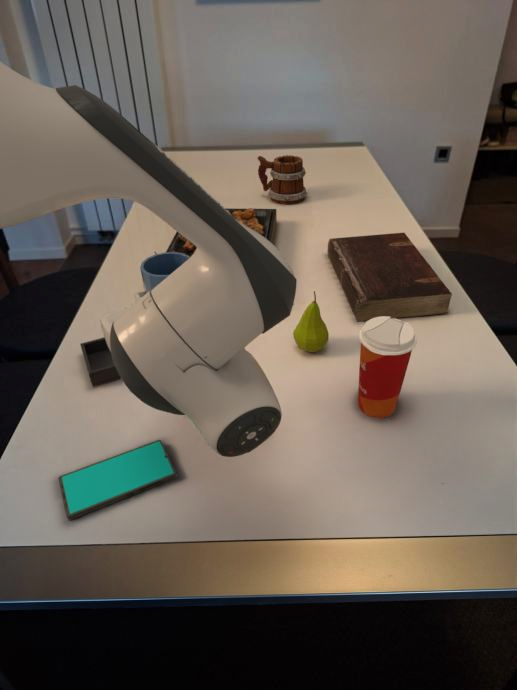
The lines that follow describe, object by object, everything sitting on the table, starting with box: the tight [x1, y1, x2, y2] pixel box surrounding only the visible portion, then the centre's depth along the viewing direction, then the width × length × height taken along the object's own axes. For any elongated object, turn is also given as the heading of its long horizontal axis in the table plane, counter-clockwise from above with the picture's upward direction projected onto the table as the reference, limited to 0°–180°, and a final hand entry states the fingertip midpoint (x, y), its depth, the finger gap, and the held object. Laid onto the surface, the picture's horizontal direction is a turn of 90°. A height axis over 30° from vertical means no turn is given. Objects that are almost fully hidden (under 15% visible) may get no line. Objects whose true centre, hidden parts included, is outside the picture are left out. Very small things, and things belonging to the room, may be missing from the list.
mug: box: [257, 154, 308, 205], centre depth 151 cm, size 12×14×15 cm
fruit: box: [292, 290, 329, 353], centre depth 89 cm, size 6×6×12 cm
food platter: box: [153, 207, 278, 257], centre depth 119 cm, size 45×25×10 cm, turn 175°
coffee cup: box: [357, 316, 418, 419], centre depth 76 cm, size 8×8×15 cm
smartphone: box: [57, 439, 177, 521], centre depth 70 cm, size 7×1×15 cm
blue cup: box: [139, 251, 190, 293], centre depth 68 cm, size 7×7×10 cm
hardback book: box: [327, 232, 453, 322], centre depth 110 cm, size 29×19×5 cm, turn 5°
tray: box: [79, 336, 122, 388], centre depth 91 cm, size 18×10×3 cm, turn 115°
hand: (169, 290), depth 69 cm, fingers closed on blue cup, 7 cm apart
